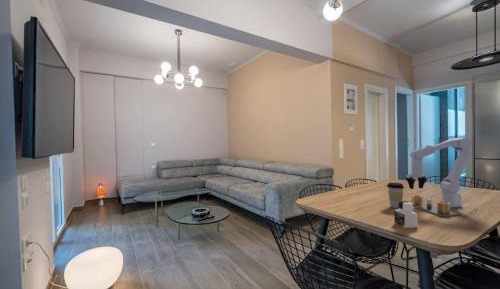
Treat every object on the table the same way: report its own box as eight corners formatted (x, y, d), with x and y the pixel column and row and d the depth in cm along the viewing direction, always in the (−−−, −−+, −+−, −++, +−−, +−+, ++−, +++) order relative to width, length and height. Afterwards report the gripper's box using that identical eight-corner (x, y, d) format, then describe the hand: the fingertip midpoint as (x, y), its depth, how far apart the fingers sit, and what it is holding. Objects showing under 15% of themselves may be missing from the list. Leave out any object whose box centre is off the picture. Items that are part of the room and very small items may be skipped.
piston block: (430, 206, 147) (430, 196, 147) (460, 215, 130) (460, 204, 130) (414, 207, 146) (414, 197, 145) (442, 217, 128) (442, 205, 128)
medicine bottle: (394, 223, 120) (394, 200, 120) (406, 222, 121) (406, 199, 121) (404, 228, 113) (404, 204, 113) (417, 227, 114) (417, 203, 114)
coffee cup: (407, 209, 142) (407, 185, 142) (390, 208, 144) (390, 185, 144) (400, 205, 152) (400, 182, 151) (384, 204, 153) (384, 182, 153)
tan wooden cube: (417, 202, 156) (417, 194, 156) (424, 205, 150) (424, 196, 150) (409, 203, 155) (409, 195, 155) (417, 205, 150) (417, 197, 149)
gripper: (419, 167, 158) (419, 186, 158) (402, 167, 154) (401, 187, 155) (430, 168, 151) (429, 189, 151) (412, 168, 147) (411, 189, 148)
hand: (416, 188), depth 152 cm, fingers open, 7 cm apart
